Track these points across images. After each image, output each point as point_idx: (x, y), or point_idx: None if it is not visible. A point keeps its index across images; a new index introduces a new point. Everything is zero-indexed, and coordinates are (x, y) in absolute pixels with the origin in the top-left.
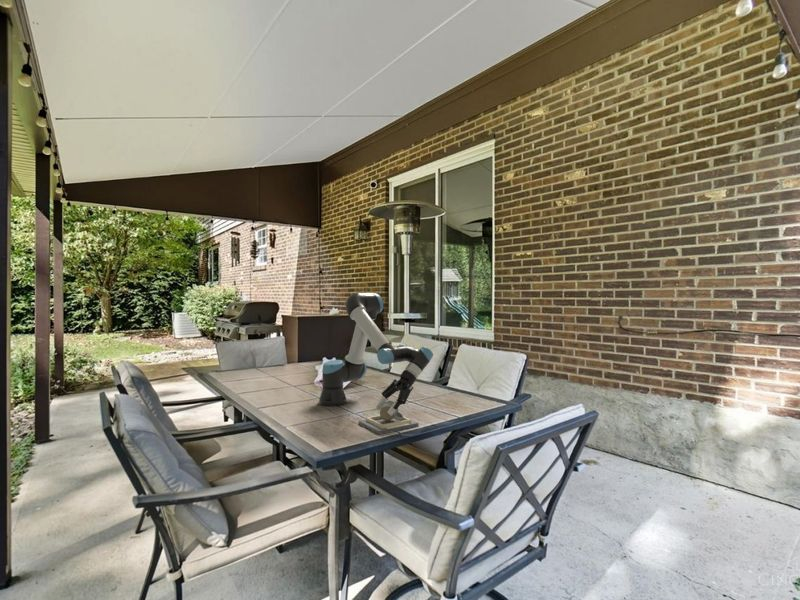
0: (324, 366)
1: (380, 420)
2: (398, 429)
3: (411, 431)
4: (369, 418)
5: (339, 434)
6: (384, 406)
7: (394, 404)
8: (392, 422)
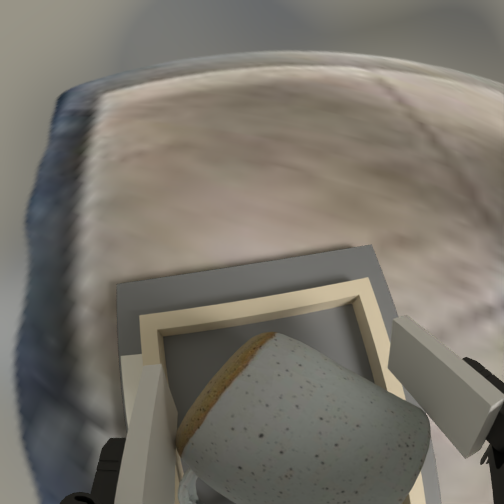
0: None
1: None
2: None
3: None
4: (343, 292)
5: (227, 141)
6: (252, 363)
7: (127, 462)
8: None
